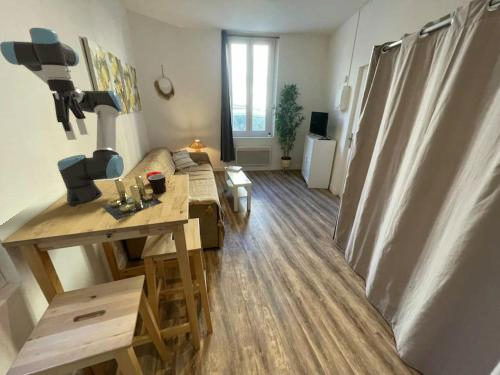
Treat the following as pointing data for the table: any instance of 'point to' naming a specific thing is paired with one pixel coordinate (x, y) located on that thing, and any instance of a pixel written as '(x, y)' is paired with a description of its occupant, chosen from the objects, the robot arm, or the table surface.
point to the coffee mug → (158, 183)
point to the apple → (152, 174)
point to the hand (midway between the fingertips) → (79, 137)
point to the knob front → (136, 200)
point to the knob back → (121, 193)
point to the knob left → (142, 189)
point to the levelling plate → (119, 215)
